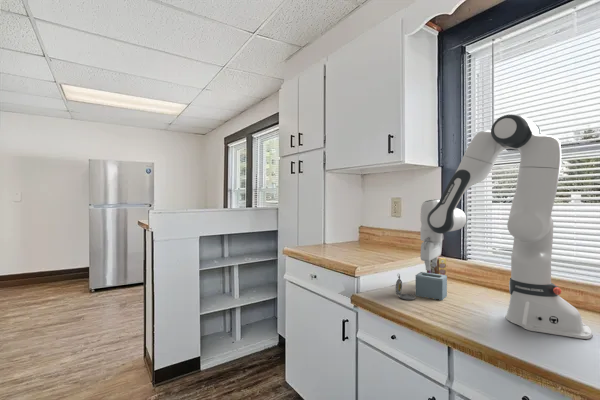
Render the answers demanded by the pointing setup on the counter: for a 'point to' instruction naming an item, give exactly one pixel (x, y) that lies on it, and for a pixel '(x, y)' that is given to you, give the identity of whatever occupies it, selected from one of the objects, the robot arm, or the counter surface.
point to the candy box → (439, 267)
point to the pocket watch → (399, 289)
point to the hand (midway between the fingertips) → (431, 268)
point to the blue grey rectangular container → (431, 285)
